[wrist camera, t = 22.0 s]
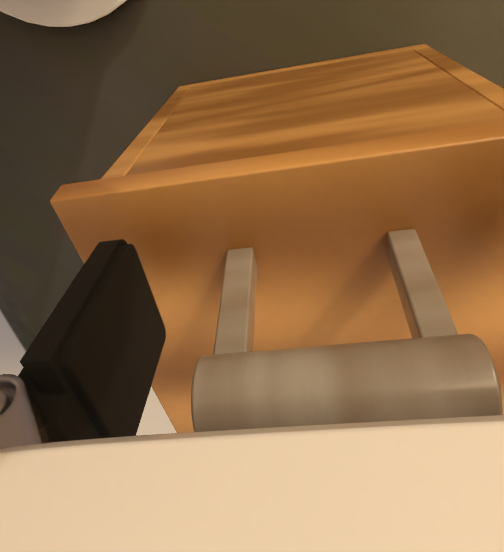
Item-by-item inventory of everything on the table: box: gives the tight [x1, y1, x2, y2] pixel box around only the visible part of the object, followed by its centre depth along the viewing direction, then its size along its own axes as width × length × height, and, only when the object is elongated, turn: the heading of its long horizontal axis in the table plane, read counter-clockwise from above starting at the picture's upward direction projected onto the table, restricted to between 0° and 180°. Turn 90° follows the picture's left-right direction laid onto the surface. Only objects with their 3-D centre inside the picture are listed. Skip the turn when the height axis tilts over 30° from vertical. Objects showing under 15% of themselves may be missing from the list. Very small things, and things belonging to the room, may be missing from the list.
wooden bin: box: [101, 44, 504, 179], centre depth 21 cm, size 15×13×13 cm
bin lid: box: [50, 121, 504, 433], centre depth 13 cm, size 15×13×6 cm
